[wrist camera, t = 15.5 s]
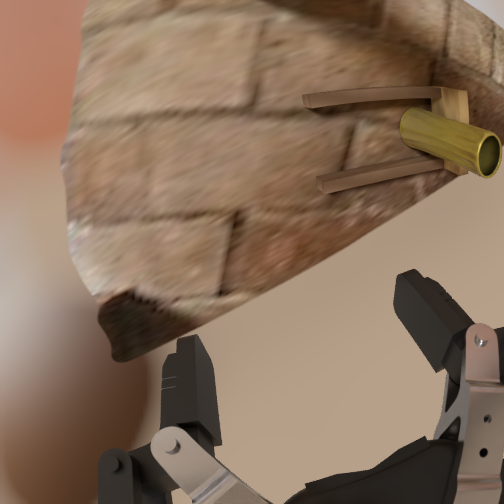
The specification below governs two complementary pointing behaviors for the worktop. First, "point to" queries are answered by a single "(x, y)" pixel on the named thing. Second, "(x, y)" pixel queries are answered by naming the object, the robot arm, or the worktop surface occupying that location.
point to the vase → (452, 141)
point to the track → (442, 104)
